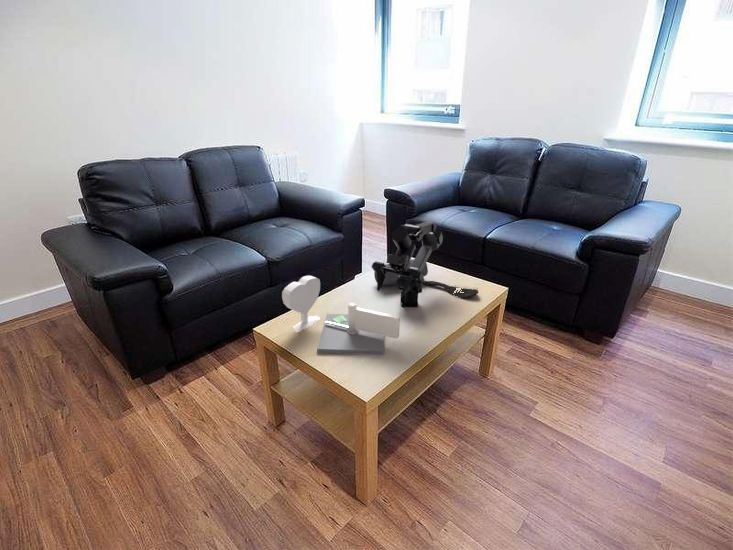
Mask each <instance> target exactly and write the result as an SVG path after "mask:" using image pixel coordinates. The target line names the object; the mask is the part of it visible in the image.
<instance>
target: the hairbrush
mask: <svg viewBox="0 0 733 550" xmlns="http://www.w3.org/2000/svg"><path fill="white" fill-rule="evenodd" d="M422 284H423V285H424V286H436V287H442V288H443V289H445V291H446V292H447V293H450V295H451V294H452V296H453V295H455V296H458V297H461V298H460V299H468V298H473V297H474V296H477V295H478V294H479V290H478V287H469V288H468V287H467V286H466V285H465V286H463V287H460V286H459V285H458V284H457V285H456V284H455V285H454V286H453V285H449V284H446V283H443V282H439V281H436V280H428V281H423V283H422ZM456 288H461V290H462V291H461V290H460V291H461V292H464V293H460V291H459V292H458V293H457V292H456V293H454V291H455V290H456ZM462 288H463V289H462ZM457 291H458V290H457ZM453 293H454V294H453ZM455 296H454V297H455ZM458 297H457V298H458Z"/></svg>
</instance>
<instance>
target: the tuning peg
mask: <svg viewBox="0 0 733 550" xmlns="http://www.w3.org/2000/svg"><path fill="white" fill-rule="evenodd" d="M357 305H358V304H357V303H355V302H349V303H348V304H347V314H348V324H349V326H346V325H341V324H337V323H333V322H329V321H325V320H324V322H325V323H326V324H331V325H335V326H339V327H343V328H347V329H349V331H351V332H354V331H356V330H357V329H358V330H362V331H366V332H370V333H374V334H379V335H383V336H384V337H388V338H392V339H396V340H397V339H399V337H400V319H401V318H400V317H401V316H399V315H394V314H390V313H385V312H381V311H376V310H371V309H367V308H362V307H358V306H357Z"/></svg>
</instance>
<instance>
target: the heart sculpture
mask: <svg viewBox="0 0 733 550" xmlns="http://www.w3.org/2000/svg"><path fill="white" fill-rule="evenodd" d="M320 291H321V281H320V278H317V277H315V276H313V275H304V276H302V277H301V278H300V279H299V280H298V281H292V282H290V283H289V284H288V285H286V286H285V287H284V289H283V290H282V292H281V299H282V303H283V304H284V305H285V307H286V308H288V309H290V310H291V311H292V310H293V311H294V312H298V313H300V320H301V322H300V321H299V322H297V323H298V324H297V323H296V325H295V324H294V325H295V326H294V325H292V326H293V328H294V329H295V330H296V331H301V330H303V329H304V330H306V329H308V328H309V327H311V326H312V325H314V324H315V323H317V322H319V321H320V320H321V317H320V316H318V315H315V316H310V315H309V316H308V314H309V312H310V310H311V309H312V307H313V306H314V304H315V303H316V301H317V300H318V298H319V294H320ZM318 320H319V321H318ZM313 323H314V324H313ZM308 326H309V327H308ZM305 328H306V329H305ZM304 330H303V331H304ZM301 332H302V331H301Z"/></svg>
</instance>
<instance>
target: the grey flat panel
mask: <svg viewBox="0 0 733 550" xmlns="http://www.w3.org/2000/svg"><path fill="white" fill-rule="evenodd" d="M325 321H329V322H333V323H337V324H341V325H346V326H349V324H348V313H347V314H346V313H345V314H344V313H326V316H325V320H324V323H323V326H322V330H321V334H320V336H319V340H318V343H317V348H316V352H317V353H320V354H321V353H322V354H325V353H326V354H352V355H353V354H354V355H355V354H356V355H357V354H359V355H384V346H385V345H384V343H385V342H384V340H385V338H384V337H385V336H383V335H379V334H374V333H370V332H366V331H362V330H358V329H357V330H356V331H354V332H351V331H349V329H347V328H343V327H339V326H335V325H331V324H326V323H325Z"/></svg>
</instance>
